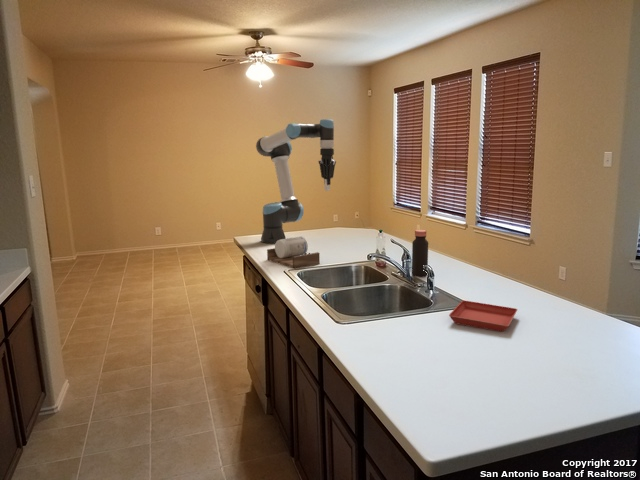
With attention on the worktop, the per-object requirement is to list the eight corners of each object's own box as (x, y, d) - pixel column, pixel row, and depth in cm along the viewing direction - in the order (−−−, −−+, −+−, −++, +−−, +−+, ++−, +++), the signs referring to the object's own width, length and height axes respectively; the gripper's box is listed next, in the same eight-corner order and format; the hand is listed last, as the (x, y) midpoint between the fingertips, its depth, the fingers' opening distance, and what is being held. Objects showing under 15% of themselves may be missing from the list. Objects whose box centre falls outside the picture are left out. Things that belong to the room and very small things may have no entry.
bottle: (409, 276, 208) (410, 231, 204) (414, 272, 214) (415, 228, 210) (424, 277, 205) (426, 232, 201) (429, 274, 211) (430, 230, 207)
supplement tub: (296, 244, 252) (272, 248, 243) (302, 232, 246) (278, 235, 237) (304, 258, 247) (280, 262, 238) (310, 245, 241) (286, 249, 232)
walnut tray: (267, 259, 242) (267, 249, 241) (291, 255, 251) (291, 245, 250) (294, 268, 223) (294, 257, 222) (319, 263, 233) (319, 252, 232)
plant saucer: (517, 317, 157) (518, 308, 156) (508, 335, 141) (508, 325, 141) (462, 309, 166) (462, 299, 165) (447, 325, 151) (448, 315, 150)
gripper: (339, 147, 259) (340, 191, 264) (324, 148, 269) (325, 189, 274) (329, 147, 255) (329, 191, 259) (314, 148, 265) (315, 190, 269)
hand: (327, 190), depth 267 cm, fingers closed
